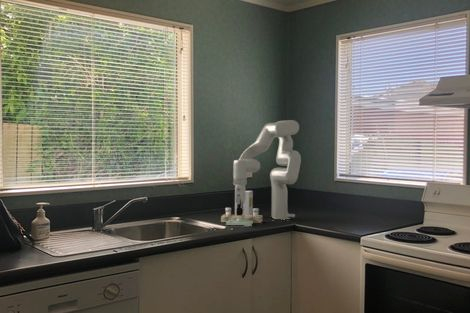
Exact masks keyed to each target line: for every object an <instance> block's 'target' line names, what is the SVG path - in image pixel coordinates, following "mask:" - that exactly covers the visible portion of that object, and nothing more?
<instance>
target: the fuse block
mask: <svg viewBox="0 0 470 313" xmlns="http://www.w3.org/2000/svg"><path fill="white" fill-rule="evenodd" d="M263 218H264V217H263V215H259V214H258V217H253V215H242V219H243V221H253V223H261V222H262V223H263V220H264V219H263ZM228 220H237V215H235V214H231V216H226V214H222V215H221V217H220V223H221V222H227V221H228ZM262 223H261V224H262Z"/></svg>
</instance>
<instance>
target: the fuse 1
mask: <svg viewBox="0 0 470 313" xmlns="http://www.w3.org/2000/svg"><path fill="white" fill-rule="evenodd" d="M224 209H225V215H226V216H231V215H232V208H231V207H225V208H224Z"/></svg>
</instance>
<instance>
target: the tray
mask: <svg viewBox="0 0 470 313" xmlns="http://www.w3.org/2000/svg"><path fill="white" fill-rule="evenodd" d="M252 224H253V221H243V222H237V220H228V221H227V222H226V223H225V226H226V225H244V226H243V227H249V226H251V227H252V226H253V225H254V224H253V225H252Z"/></svg>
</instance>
